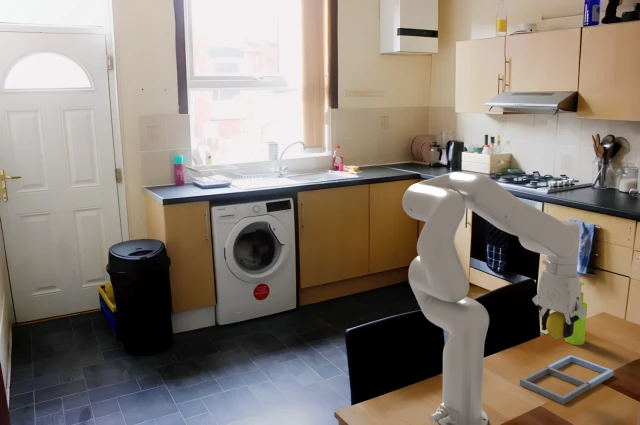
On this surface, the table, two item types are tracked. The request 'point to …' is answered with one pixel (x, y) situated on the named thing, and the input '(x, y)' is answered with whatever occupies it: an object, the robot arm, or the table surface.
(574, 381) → the grey divided frame
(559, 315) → the lemon
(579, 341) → the soap dispenser
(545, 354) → the table surface
